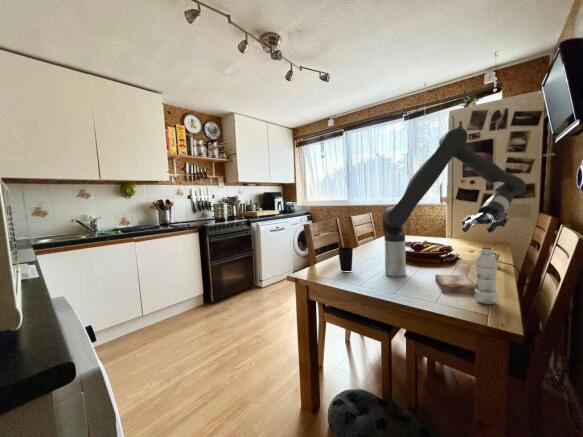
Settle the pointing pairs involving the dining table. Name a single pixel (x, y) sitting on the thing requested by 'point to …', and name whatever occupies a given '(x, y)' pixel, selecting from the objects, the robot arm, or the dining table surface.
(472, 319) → the dining table surface
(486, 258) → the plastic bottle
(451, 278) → the plinth
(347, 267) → the cup
